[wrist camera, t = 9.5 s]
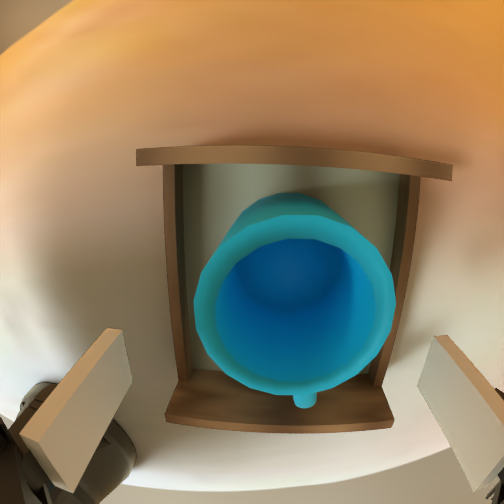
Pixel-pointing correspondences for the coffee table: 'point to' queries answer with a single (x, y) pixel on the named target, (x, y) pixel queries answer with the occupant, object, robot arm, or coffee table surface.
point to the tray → (216, 227)
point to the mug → (293, 299)
